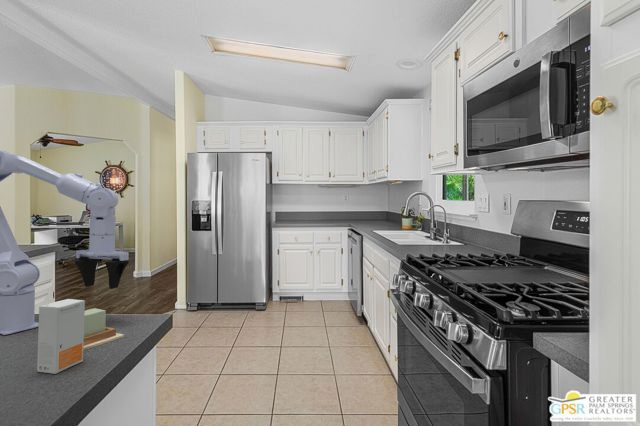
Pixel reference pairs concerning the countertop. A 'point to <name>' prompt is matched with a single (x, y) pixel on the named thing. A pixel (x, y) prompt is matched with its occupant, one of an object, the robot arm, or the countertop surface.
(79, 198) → the robot arm
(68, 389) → the countertop surface
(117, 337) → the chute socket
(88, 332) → the chute block
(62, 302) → the skincare box
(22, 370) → the countertop surface
